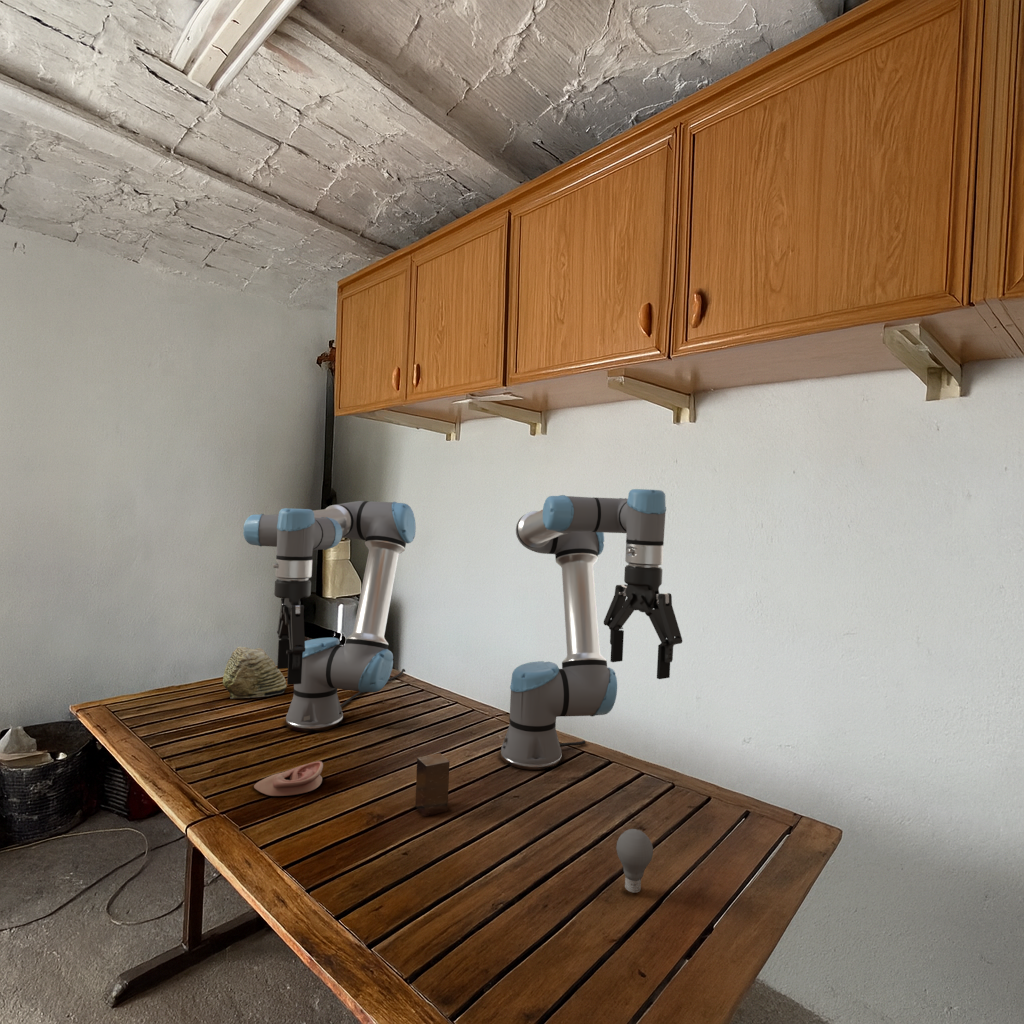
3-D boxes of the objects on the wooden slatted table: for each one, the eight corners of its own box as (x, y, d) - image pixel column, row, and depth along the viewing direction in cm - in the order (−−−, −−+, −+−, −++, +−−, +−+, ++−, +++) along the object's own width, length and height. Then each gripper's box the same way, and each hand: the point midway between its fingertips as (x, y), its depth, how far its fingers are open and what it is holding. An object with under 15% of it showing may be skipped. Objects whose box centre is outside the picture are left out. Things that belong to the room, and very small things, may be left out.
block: (415, 806, 131) (417, 757, 131) (437, 801, 134) (439, 752, 134) (424, 816, 127) (426, 765, 127) (447, 811, 130) (449, 761, 130)
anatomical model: (246, 773, 134) (276, 753, 145) (245, 792, 134) (276, 770, 145) (303, 782, 131) (330, 760, 142) (302, 801, 131) (329, 777, 142)
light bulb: (610, 879, 108) (613, 822, 108) (644, 879, 109) (647, 822, 109) (619, 902, 102) (622, 840, 102) (655, 901, 103) (658, 840, 103)
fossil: (218, 695, 195) (220, 647, 195) (278, 685, 208) (279, 640, 207) (228, 703, 189) (230, 653, 188) (289, 692, 201) (290, 645, 201)
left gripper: (267, 572, 148) (262, 663, 148) (284, 586, 126) (279, 692, 126) (300, 572, 151) (296, 661, 151) (323, 585, 129) (318, 689, 129)
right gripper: (590, 559, 137) (585, 656, 137) (676, 573, 116) (670, 688, 116) (616, 558, 141) (612, 653, 141) (704, 572, 120) (699, 683, 120)
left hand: (288, 675), depth 139 cm, fingers open, 13 cm apart
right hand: (638, 669), depth 129 cm, fingers open, 13 cm apart
